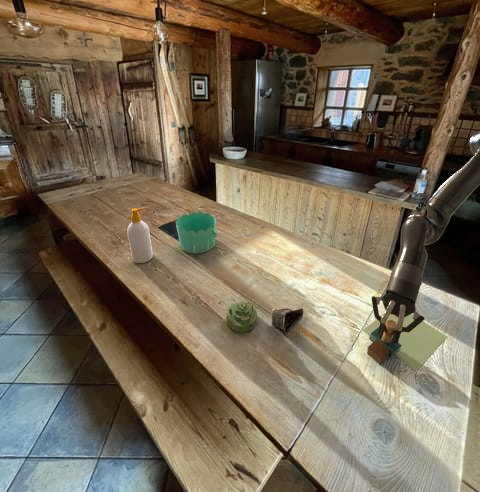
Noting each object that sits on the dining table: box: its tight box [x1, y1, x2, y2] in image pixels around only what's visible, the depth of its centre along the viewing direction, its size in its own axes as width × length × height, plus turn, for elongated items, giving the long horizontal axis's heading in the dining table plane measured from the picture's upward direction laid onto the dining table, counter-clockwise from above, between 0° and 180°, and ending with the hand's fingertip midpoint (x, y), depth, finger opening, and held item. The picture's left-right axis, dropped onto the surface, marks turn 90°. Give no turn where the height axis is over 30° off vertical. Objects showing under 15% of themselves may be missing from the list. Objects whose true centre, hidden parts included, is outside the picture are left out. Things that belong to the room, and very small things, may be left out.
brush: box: [368, 320, 402, 360], centre depth 75 cm, size 4×7×11 cm, turn 29°
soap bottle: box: [126, 207, 154, 264], centre depth 113 cm, size 9×9×24 cm
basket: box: [175, 211, 219, 254], centre depth 125 cm, size 19×18×13 cm
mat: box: [362, 313, 448, 373], centre depth 83 cm, size 20×16×1 cm
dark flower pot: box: [270, 307, 305, 336], centre depth 87 cm, size 10×7×12 cm
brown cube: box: [366, 339, 390, 366], centre depth 75 cm, size 4×4×4 cm
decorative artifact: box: [225, 301, 258, 333], centre depth 86 cm, size 10×7×10 cm
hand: (386, 340), depth 72 cm, fingers closed on brush, 2 cm apart
